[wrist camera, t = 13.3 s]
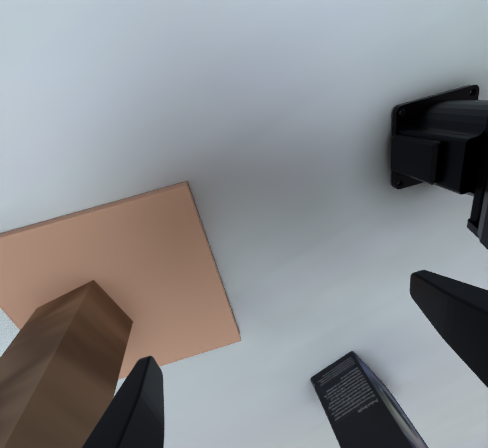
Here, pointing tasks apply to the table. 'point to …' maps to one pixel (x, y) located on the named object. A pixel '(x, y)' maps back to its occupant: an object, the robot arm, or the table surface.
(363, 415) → the small box
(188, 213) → the terracotta mat
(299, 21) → the table surface
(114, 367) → the walnut block
